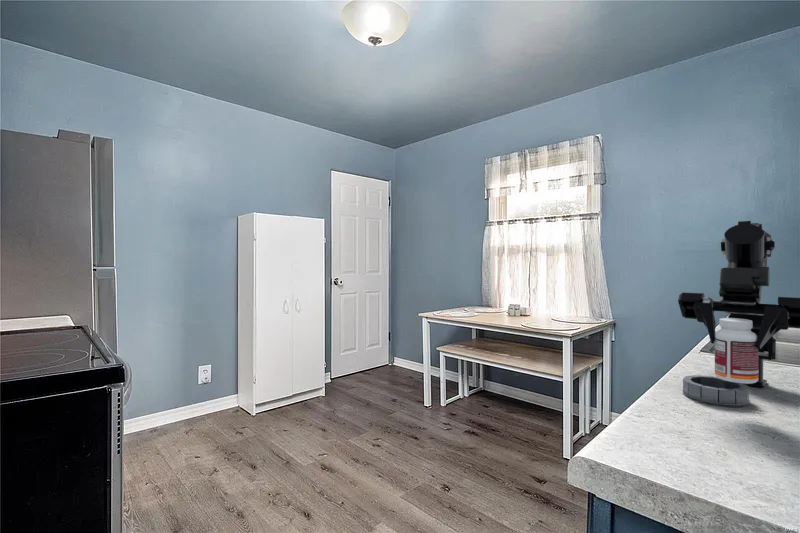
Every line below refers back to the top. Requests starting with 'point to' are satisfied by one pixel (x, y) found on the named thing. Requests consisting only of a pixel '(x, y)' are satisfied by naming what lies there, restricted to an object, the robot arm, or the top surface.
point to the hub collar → (716, 391)
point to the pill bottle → (736, 351)
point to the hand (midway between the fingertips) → (734, 344)
